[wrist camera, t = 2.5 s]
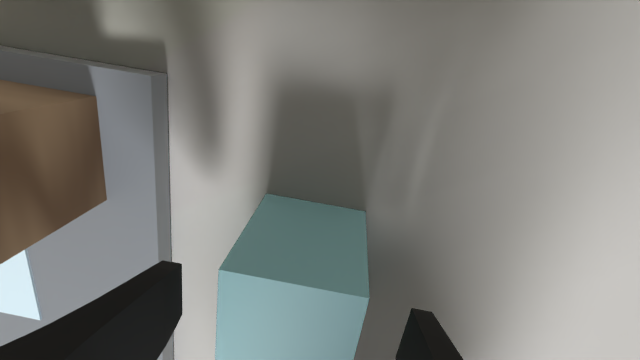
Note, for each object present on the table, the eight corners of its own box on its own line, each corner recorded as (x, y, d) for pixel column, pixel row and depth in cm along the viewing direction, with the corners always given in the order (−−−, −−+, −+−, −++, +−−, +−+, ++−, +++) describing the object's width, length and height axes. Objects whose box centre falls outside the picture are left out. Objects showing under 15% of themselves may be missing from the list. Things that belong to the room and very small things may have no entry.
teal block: (347, 290, 15) (342, 401, 10) (258, 273, 15) (214, 374, 10) (365, 210, 13) (369, 298, 9) (266, 192, 13) (218, 269, 9)
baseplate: (174, 381, 18) (163, 400, 17) (-69, 330, 19) (-94, 346, 18) (167, 73, 12) (149, 75, 11) (-192, 13, 13) (-241, 9, 12)
